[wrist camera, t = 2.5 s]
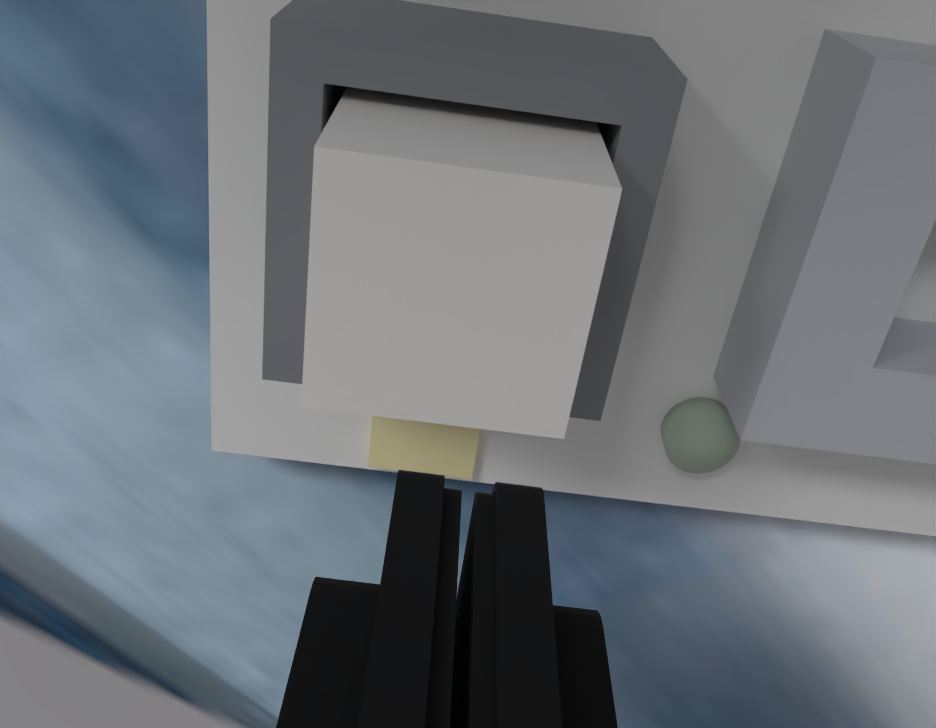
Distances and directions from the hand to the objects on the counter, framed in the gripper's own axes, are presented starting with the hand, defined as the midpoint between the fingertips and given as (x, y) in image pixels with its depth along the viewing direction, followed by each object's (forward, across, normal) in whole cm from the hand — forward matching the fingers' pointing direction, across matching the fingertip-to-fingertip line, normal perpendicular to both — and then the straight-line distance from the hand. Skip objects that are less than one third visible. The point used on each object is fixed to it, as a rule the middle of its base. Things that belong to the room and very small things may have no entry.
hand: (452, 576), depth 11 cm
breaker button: (+10, 0, -1) cm, 10 cm away
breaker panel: (+15, -6, -1) cm, 16 cm away
